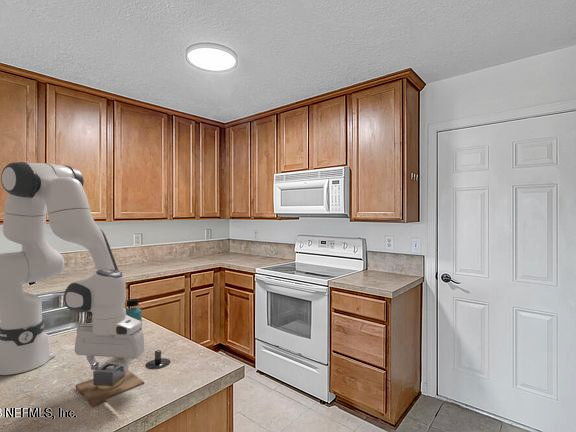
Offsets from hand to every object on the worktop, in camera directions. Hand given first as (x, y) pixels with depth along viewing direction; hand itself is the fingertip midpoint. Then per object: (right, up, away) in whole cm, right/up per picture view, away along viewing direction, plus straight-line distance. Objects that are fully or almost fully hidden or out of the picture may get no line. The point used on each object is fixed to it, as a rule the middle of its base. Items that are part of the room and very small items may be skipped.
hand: (109, 369), depth 97 cm
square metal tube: (0, -3, 0) cm, 3 cm away
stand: (+9, -5, +13) cm, 17 cm away
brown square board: (0, -5, 0) cm, 5 cm away
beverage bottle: (-4, -5, +23) cm, 24 cm away
